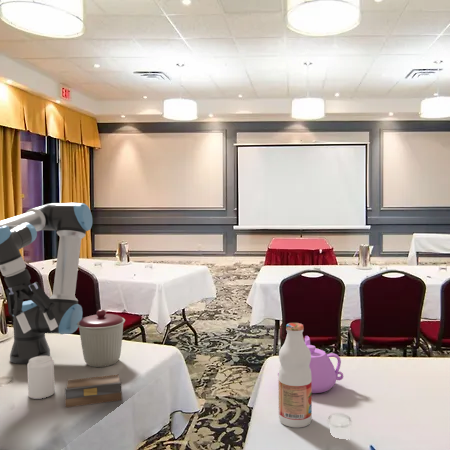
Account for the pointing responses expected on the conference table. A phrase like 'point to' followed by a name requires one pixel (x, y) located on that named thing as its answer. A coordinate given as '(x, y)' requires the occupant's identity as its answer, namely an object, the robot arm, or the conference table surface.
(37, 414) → the conference table surface
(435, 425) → the conference table surface
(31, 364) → the beverage can
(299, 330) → the fruit juice
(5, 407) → the conference table surface
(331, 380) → the teapot
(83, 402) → the shelf board
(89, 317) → the canister
